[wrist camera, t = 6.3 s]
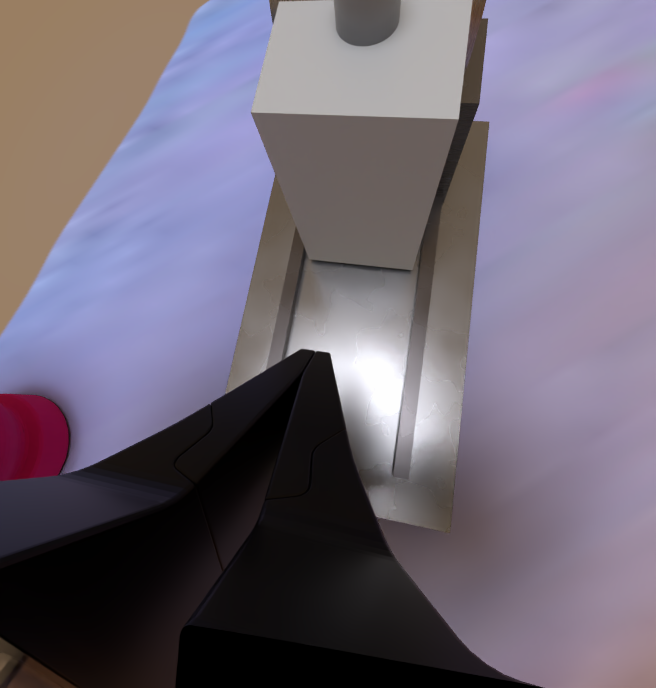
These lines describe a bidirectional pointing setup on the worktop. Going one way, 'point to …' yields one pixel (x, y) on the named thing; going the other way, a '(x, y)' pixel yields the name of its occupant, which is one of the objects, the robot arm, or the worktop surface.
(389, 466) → the base
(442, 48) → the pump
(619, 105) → the worktop surface
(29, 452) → the pepper mill
